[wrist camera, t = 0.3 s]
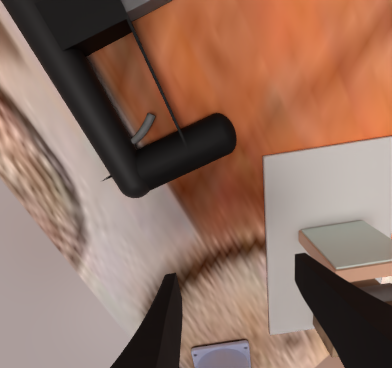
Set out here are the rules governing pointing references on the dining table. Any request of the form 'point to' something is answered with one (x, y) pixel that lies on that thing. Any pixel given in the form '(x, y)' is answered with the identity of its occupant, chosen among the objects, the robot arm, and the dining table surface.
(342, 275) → the tile
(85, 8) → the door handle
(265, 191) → the mat
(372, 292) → the pusher
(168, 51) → the dining table surface
